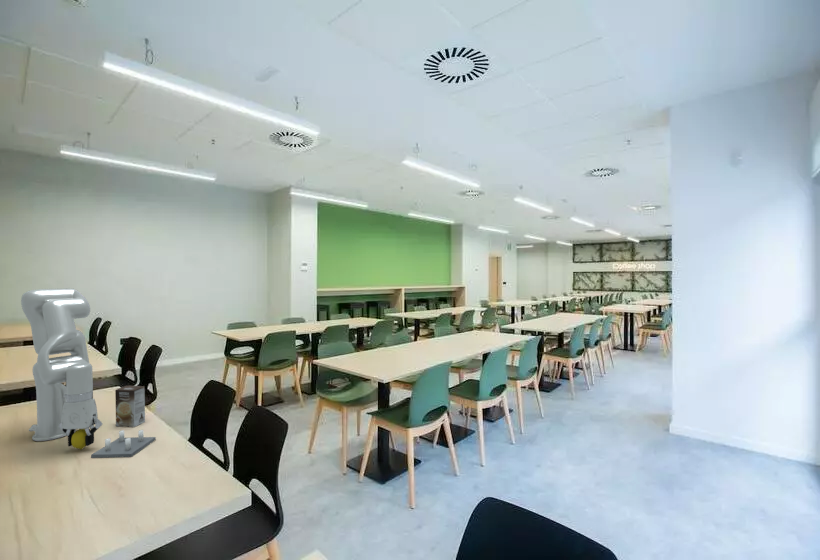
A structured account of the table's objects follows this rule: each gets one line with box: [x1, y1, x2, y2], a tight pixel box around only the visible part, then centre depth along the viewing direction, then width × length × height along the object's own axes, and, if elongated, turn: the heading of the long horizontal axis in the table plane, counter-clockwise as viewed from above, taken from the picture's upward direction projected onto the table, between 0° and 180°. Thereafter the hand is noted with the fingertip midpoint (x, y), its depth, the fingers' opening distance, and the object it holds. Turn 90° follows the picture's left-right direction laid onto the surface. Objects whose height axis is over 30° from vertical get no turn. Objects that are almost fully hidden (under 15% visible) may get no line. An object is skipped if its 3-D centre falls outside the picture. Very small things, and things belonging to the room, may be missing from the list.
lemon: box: [71, 429, 87, 450], centre depth 144 cm, size 6×6×8 cm
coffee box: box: [114, 385, 146, 428], centre depth 168 cm, size 9×6×16 cm
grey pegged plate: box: [90, 429, 157, 459], centre depth 145 cm, size 14×14×5 cm
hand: (81, 444), depth 144 cm, fingers closed on lemon, 5 cm apart
